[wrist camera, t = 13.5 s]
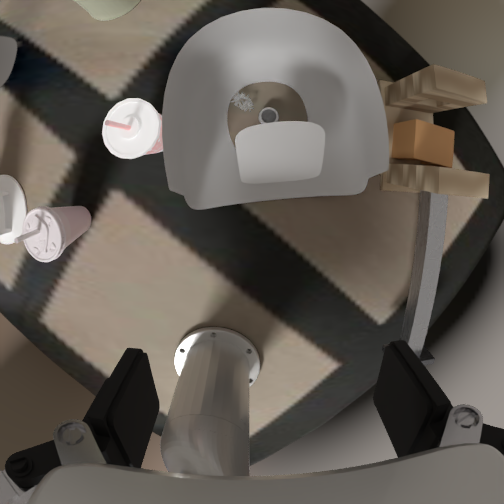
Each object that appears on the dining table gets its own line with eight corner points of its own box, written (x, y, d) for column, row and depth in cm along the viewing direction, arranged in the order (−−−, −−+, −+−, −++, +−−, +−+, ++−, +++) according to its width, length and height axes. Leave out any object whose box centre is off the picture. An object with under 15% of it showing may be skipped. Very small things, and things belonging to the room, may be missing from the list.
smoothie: (93, 191, 37) (29, 207, 23) (104, 237, 38) (46, 272, 25) (58, 201, 37) (-8, 222, 23) (68, 245, 39) (8, 279, 25)
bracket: (429, 192, 37) (490, 208, 24) (380, 189, 37) (433, 204, 24) (428, 91, 33) (486, 73, 20) (377, 81, 33) (428, 53, 20)
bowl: (337, 48, 32) (369, 11, 20) (354, 192, 37) (395, 206, 26) (179, 61, 32) (152, 25, 21) (195, 208, 38) (171, 228, 26)
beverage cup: (127, 152, 35) (68, 150, 22) (142, 106, 34) (90, 82, 20) (171, 164, 36) (127, 167, 22) (186, 117, 34) (151, 94, 21)
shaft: (418, 344, 38) (433, 363, 34) (381, 349, 38) (395, 370, 34) (442, 185, 32) (465, 190, 27) (402, 182, 32) (424, 186, 27)
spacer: (427, 165, 35) (451, 167, 29) (391, 157, 35) (413, 158, 29) (429, 133, 34) (454, 131, 28) (393, 123, 34) (416, 119, 28)
